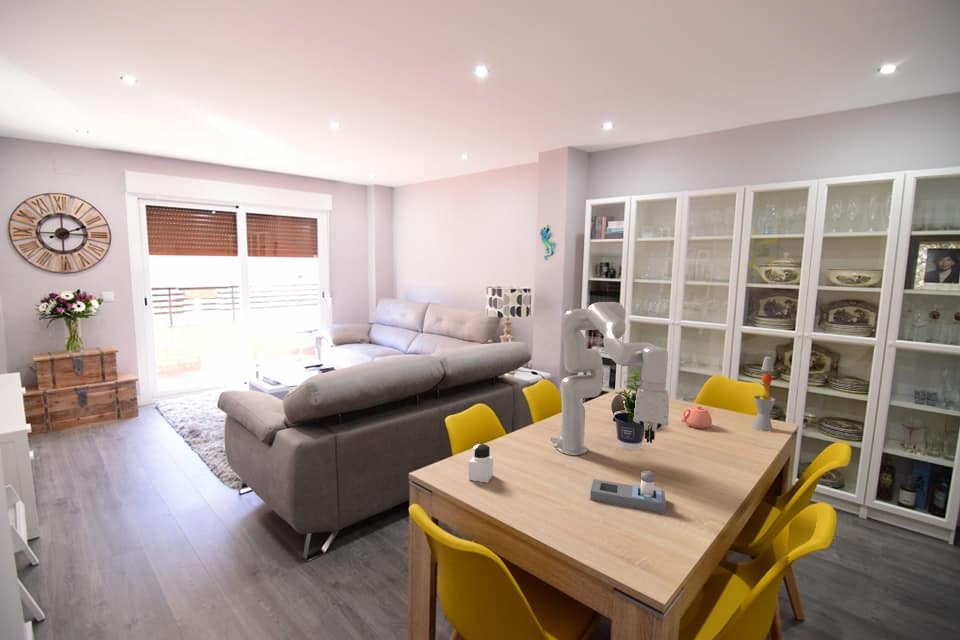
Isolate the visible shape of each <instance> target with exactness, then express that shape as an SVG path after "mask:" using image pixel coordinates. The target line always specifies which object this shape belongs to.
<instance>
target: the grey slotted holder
mask: <svg viewBox="0 0 960 640" xmlns="http://www.w3.org/2000/svg"><path fill="white" fill-rule="evenodd" d="M640 491H641V485H637V484H627V483H626V484H625V483H619V482H612V481H608V480H602V479H596V478H594V479H593V480H592V483H591V487H590V496H589V499H590V500H591V501H597V502H603V503H608V504H613V505H619V506H623V507H624V506H625V507H630V508H635V509H641V510H646V511H653V512H657V513H663V514H665V513H666V506H667V505H666V503H667V502H666V493H665V490H663V489H662V488H657V487H654V494H653V498H651V495H645V494H644V496H640Z"/></svg>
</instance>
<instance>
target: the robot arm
mask: <svg viewBox="0 0 960 640" xmlns="http://www.w3.org/2000/svg"><path fill="white" fill-rule="evenodd" d="M626 316H627V315H626V309H625V307H624V306H623V305H622V304H621V303H619V302H617V301H607V302H606V301H601V302H600V301H599V302H594V303H592V304H590V305H589V306H588V307H587V308H574V309H570V310H567V311H566V312H565V313H563V315H562V319H561V329H562V333H563V338H564V340H563V341H564V342H563V343H564V344H563V345H564V346H563V349H564V350H563V351H564V352H563V353H564V354H563V355H564V356H563V358H564V360H563V364H564V368H565V370H566V371H567V372H568V373H572V374H573V373H574V374H576V373H586V374H579V375H578V374H576V375H569V376H565V377H564V378H562V379H561V381H560V383H559V389H560V395H561V426H560V427H561V430H560V436H558V437H555V436H551V437H550V442H552V444H557V445H556V450H557V451H558V450H559V451H558V452H560V453H562V454H564V453H565V455H568V456H583V455H584V454H585V455H586V454H587V452H588V446H587V445H585V425H586V424H585V423H586V422H585V421H586V408H585V405H584V404H583V403H582V401H581V399H588V398H596V397H598V396H599V395H600V394H601V392H602V390H603V369H604V367H603V366H604V365H603V357H602V355H601V353H600V351H599V350H597V349H594V348H586V337H585V335H584V334H583V332H582V331H590V330H591V331H594V330H595V331H596V330H597V331H599V332H600V333H601V335H602V336H603V341H602V342H603V347H604V351H605V353H606V354H607V355H608V357H609V358H610V359H611V360H612V361H613V362H614V363H615V364H617V365H618V366H620V367H633V366H641V371H640V379H639V380H635V386H638V387H637V391H636V394H635V395H636V400H635V408H634V417H633V421H634V422H633V423H636V424H639V425H640V426H641V427H642V428H643V429H644V438H643V439H646V443H650V444H652V443H653V441H654V440H655V434H656V431H657V430H658V429H659V428H661V427H668V426H669V418H670V416H669V415H670V412H669V411H670V399H669V396H670V395H669V392H668V391H667V390H666V389H667V376H668V361H669V352H668V350H667V349H666V348H664V347H660V346H656V345H654V344H653V343H650V342H645V341H643V342H624V343H623V342H622V341H621V340H620V339H621V338H622V337H623V335H624V334H625V333H626V330H627V325H626V323H625V321H624V320H625V318H626ZM649 423H651V426H650V425H649Z"/></svg>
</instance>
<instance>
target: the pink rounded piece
mask: <svg viewBox="0 0 960 640" xmlns="http://www.w3.org/2000/svg"><path fill="white" fill-rule="evenodd" d="M682 415H683V417H682V418H681V422H683V423H685V424H686V425H687V426H689V427H692V428H693V427H696V428H695V429H707V428H709V427H710V426H712V424H713V421H712V416H711V415H710V413H709V410H708V409H706V408H705V407H702V405H699V404H697V405H695V406H691V407H689V408H685V409H684V410H683V411H682Z"/></svg>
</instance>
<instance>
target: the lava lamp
mask: <svg viewBox="0 0 960 640" xmlns="http://www.w3.org/2000/svg"><path fill="white" fill-rule="evenodd" d="M762 362H763V363H762V366H761V370H762V371H764V372H766V371H767V372H774V364H773V363H774V361H773V357H771V356H765V357H764V358H763V361H762ZM760 378H761V382H762V383H763V386H764V390H763V391H761V392H760V395H754V396H753V399H754V402H755V405H756V409H757V412H758V413H757V415H756V416H755V419H754V421H753V424H751V428H752V429H753V428H754V429H753V430H756V429H757V430H756V431H759V430H762V431H761V432H764V431H771V432H773V431H774V429H773V425H772V422H771V417H770V412H771V411H772V410H773V407H774V405H775V403H776V401H777V399H776V398H774V397H771V396H770V386H771V383H772V381H773V376H772V375H770V374H769V373H764V374H762V376H761V377H760ZM772 430H773V431H772Z"/></svg>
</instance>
